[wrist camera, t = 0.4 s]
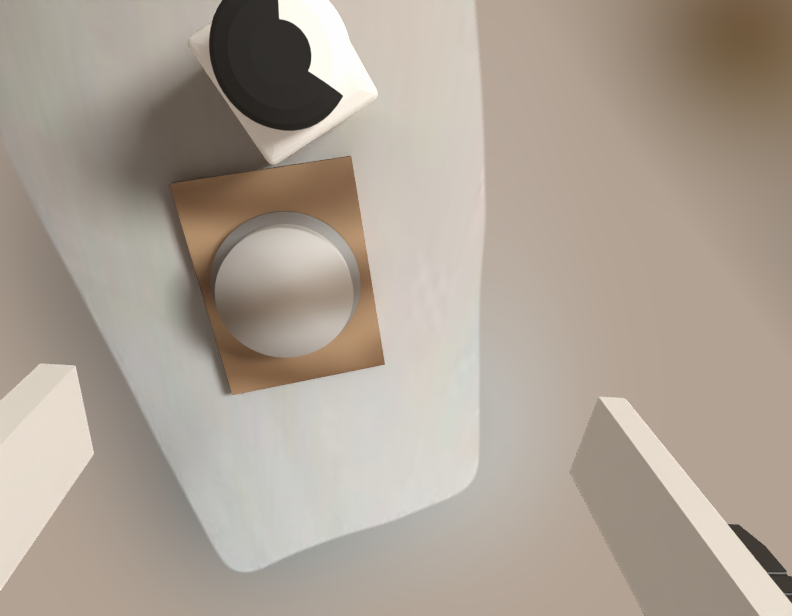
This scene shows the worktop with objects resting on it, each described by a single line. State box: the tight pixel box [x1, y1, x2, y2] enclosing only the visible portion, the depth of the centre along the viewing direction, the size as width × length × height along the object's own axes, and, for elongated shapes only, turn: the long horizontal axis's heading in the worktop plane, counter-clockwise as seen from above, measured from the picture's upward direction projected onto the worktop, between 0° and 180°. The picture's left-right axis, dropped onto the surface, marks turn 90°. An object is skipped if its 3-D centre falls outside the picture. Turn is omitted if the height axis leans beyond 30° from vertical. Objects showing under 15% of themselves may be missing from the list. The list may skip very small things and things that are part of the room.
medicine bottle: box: [188, 0, 378, 165], centre depth 25 cm, size 7×7×12 cm
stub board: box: [169, 156, 385, 395], centre depth 33 cm, size 16×12×4 cm
